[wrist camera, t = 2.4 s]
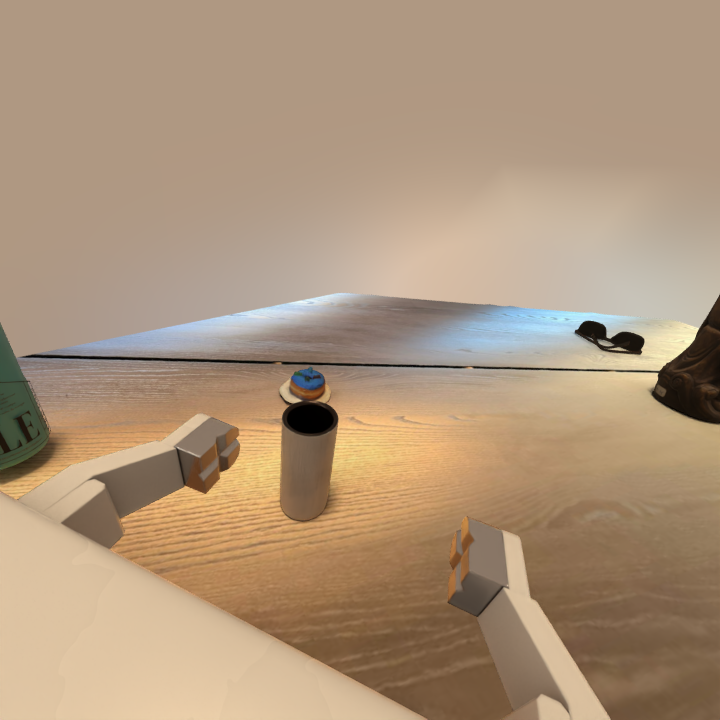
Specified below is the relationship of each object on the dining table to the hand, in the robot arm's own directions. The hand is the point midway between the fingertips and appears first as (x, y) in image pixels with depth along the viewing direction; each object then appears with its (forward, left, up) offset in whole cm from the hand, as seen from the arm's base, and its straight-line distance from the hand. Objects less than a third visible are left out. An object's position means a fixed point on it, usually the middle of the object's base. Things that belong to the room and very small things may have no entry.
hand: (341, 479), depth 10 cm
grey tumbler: (+12, 0, -18) cm, 22 cm away
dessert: (+30, -1, -18) cm, 35 cm away
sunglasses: (+52, -86, -18) cm, 102 cm away
